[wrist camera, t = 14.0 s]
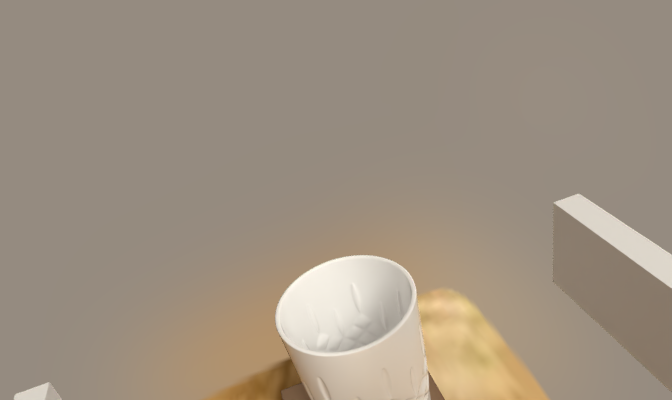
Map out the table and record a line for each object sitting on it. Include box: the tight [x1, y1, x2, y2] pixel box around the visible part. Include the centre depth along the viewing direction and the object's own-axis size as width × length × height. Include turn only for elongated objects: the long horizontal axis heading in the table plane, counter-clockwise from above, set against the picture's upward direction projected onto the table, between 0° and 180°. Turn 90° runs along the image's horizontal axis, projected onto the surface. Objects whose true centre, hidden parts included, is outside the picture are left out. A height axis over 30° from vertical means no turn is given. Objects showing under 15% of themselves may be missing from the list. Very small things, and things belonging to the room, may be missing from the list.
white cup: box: [275, 255, 431, 400], centre depth 31 cm, size 8×8×10 cm
